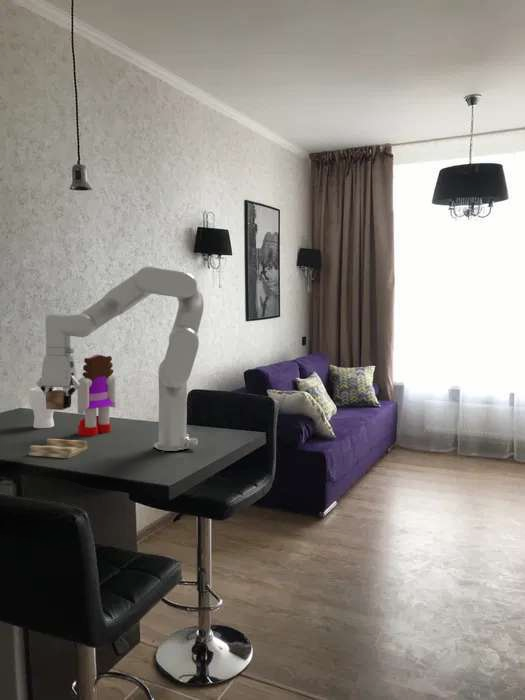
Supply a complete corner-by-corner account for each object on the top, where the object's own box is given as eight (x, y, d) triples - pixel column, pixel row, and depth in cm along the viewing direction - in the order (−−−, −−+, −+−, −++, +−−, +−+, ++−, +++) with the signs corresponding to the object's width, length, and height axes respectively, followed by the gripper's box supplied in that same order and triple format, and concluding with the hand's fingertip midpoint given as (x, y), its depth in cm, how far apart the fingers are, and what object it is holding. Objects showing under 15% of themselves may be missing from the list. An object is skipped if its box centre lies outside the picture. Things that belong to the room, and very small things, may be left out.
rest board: (87, 448, 192) (87, 440, 192) (68, 458, 180) (68, 449, 180) (49, 446, 194) (49, 438, 194) (29, 455, 183) (28, 446, 182)
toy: (104, 426, 226) (104, 351, 224) (120, 429, 222) (120, 353, 219) (68, 435, 211) (67, 355, 208) (84, 438, 206) (84, 356, 204)
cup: (28, 424, 227) (28, 387, 226) (56, 422, 231) (56, 386, 230) (30, 430, 217) (29, 391, 216) (59, 428, 222) (58, 390, 221)
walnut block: (70, 407, 188) (70, 390, 188) (61, 410, 183) (61, 393, 182) (55, 406, 189) (55, 389, 189) (46, 409, 184) (46, 392, 183)
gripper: (88, 352, 187) (88, 406, 188) (40, 350, 190) (41, 403, 191) (76, 353, 179) (76, 410, 181) (27, 352, 183) (28, 407, 184)
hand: (58, 406), depth 186 cm, fingers closed on walnut block, 5 cm apart
